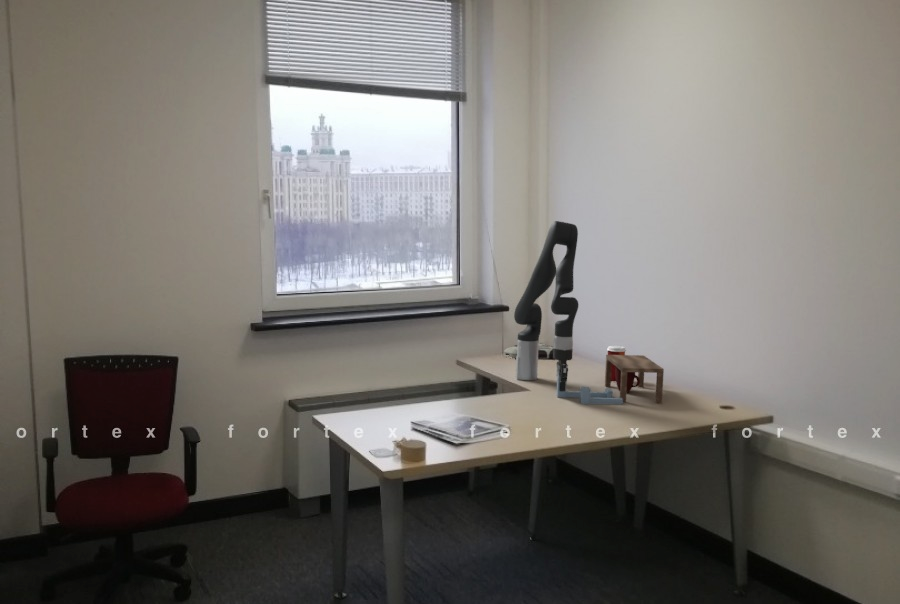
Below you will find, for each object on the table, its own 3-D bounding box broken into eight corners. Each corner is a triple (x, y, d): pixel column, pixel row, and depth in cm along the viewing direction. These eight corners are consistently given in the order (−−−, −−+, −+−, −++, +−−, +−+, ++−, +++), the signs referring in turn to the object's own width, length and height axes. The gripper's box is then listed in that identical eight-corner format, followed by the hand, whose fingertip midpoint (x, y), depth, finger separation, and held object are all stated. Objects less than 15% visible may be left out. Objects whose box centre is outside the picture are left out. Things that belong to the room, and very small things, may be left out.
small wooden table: (620, 402, 304) (622, 368, 303) (604, 385, 334) (606, 354, 332) (661, 403, 304) (663, 369, 303) (642, 386, 334) (643, 355, 333)
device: (526, 349, 426) (526, 340, 426) (573, 354, 413) (573, 345, 412) (499, 358, 398) (499, 348, 397) (549, 364, 384) (549, 354, 384)
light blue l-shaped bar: (558, 397, 309) (558, 372, 308) (556, 395, 314) (557, 370, 313) (612, 399, 309) (613, 374, 308) (609, 396, 314) (611, 371, 313)
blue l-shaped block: (581, 403, 300) (581, 388, 300) (579, 401, 303) (580, 386, 303) (622, 404, 300) (623, 389, 300) (621, 402, 304) (621, 387, 303)
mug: (642, 392, 324) (644, 368, 322) (636, 395, 317) (637, 371, 316) (618, 388, 329) (619, 365, 328) (611, 391, 322) (612, 367, 321)
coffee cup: (626, 382, 342) (627, 348, 340) (607, 382, 342) (608, 348, 340) (622, 378, 350) (624, 345, 348) (603, 378, 350) (605, 345, 348)
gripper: (551, 344, 317) (549, 386, 318) (556, 350, 302) (554, 393, 304) (569, 344, 317) (567, 386, 318) (575, 350, 303) (573, 394, 304)
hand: (561, 389), depth 311 cm, fingers open, 3 cm apart
